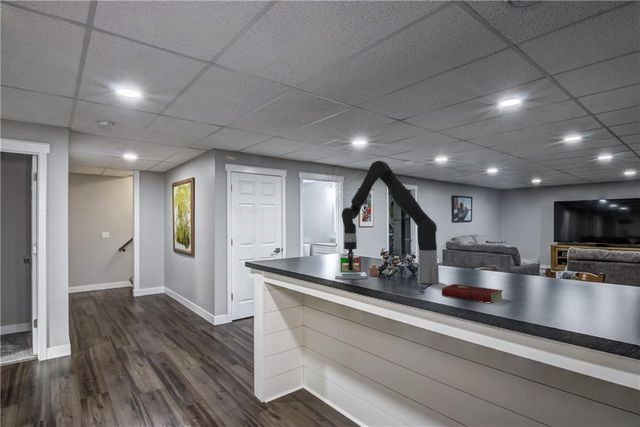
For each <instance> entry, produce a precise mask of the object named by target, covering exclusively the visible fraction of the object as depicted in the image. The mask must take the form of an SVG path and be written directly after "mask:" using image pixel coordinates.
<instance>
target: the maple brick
mask: <svg viewBox="0 0 640 427" xmlns="http://www.w3.org/2000/svg"><path fill="white" fill-rule="evenodd" d="M342 271H359V263H353V270H349V263H342Z"/></svg>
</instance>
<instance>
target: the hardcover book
mask: <svg viewBox="0 0 640 427" xmlns="http://www.w3.org/2000/svg"><path fill="white" fill-rule="evenodd" d="M503 291H504V290H503V289H496V288H490V287H481V286H474V285H465V284H458V283H453V284H450V285H446V286H443V287H441V296H442V297H448V296H449V297H448V298H454V297H455V298H454V299H460V298H463V299H462V300H466V299H469V300H468V301H473V300H476V301H475V302H479V301H483V302H482V303H485V302H490V303H489V304H491V303H493V302H494V301H496V300H498V299H500V300H502V299H503V294H502V293H503ZM501 298H502V299H501ZM498 301H499V300H498ZM496 302H497V301H496ZM494 303H495V302H494Z"/></svg>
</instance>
